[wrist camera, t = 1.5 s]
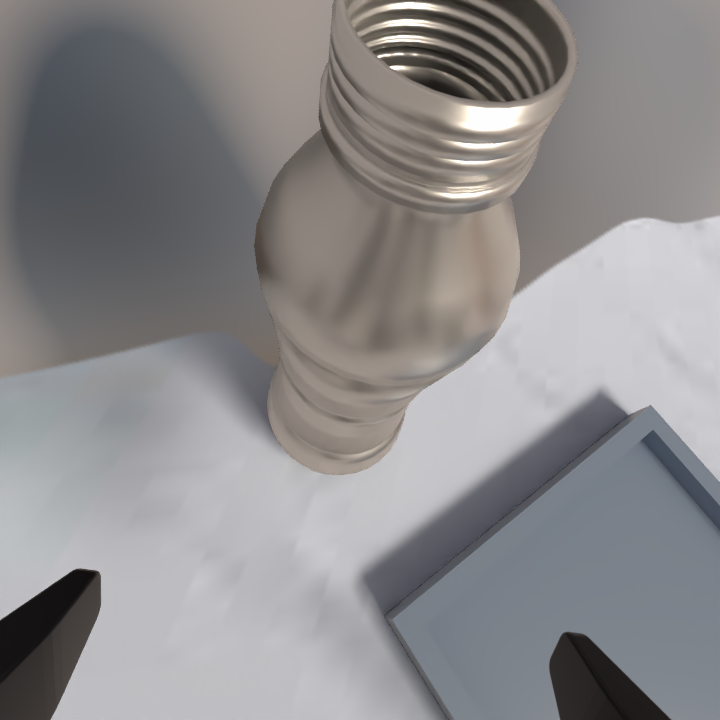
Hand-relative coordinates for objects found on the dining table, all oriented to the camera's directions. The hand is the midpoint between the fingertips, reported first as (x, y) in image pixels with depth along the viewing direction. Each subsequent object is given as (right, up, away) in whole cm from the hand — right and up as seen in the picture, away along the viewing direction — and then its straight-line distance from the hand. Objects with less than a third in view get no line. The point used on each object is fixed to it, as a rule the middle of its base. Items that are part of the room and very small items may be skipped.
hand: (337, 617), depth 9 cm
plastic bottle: (-1, +2, +16) cm, 16 cm away
